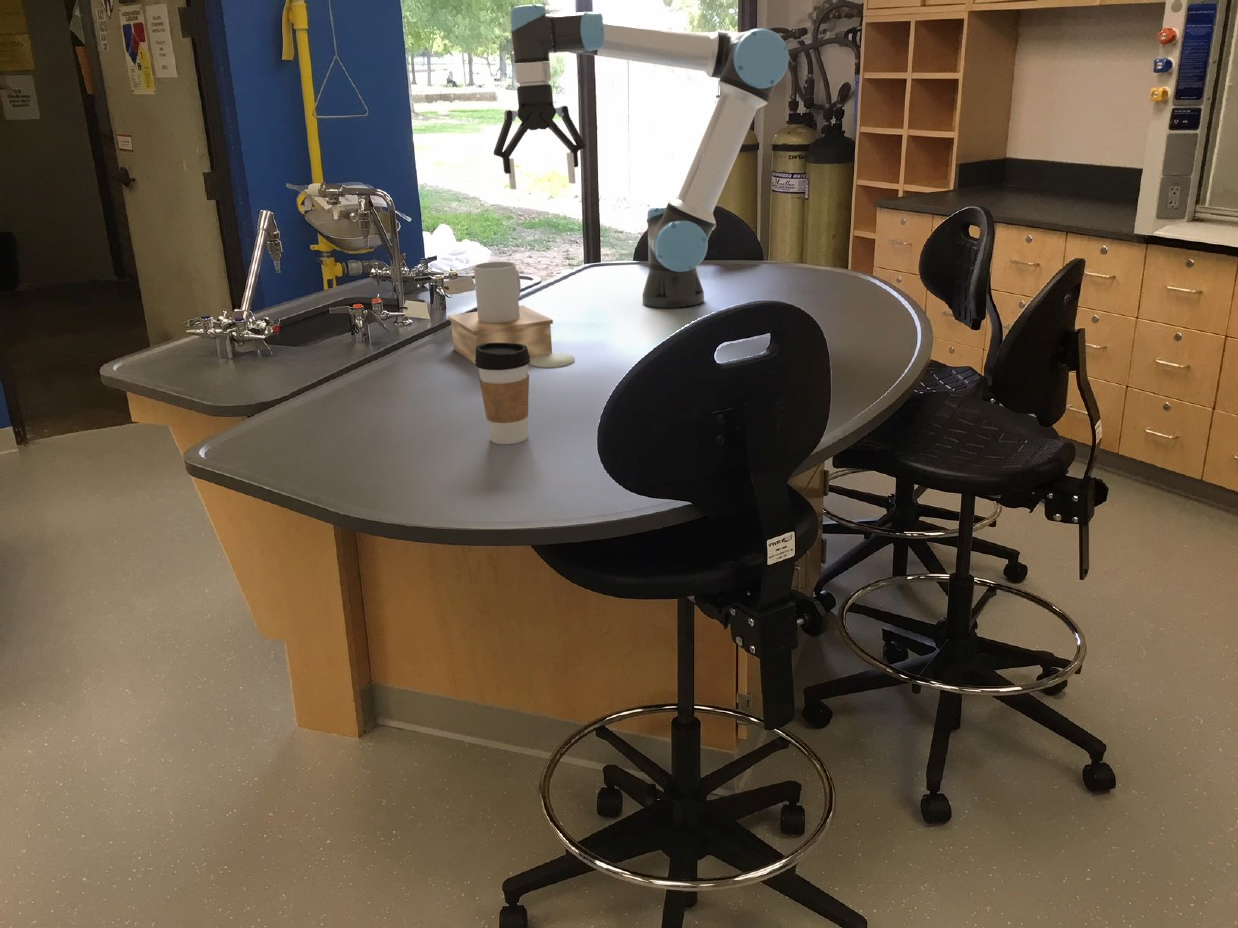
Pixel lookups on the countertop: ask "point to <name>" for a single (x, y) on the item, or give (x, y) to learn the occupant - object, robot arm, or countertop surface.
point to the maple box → (502, 333)
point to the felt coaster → (552, 360)
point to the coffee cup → (504, 390)
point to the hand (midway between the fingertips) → (543, 186)
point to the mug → (497, 292)
